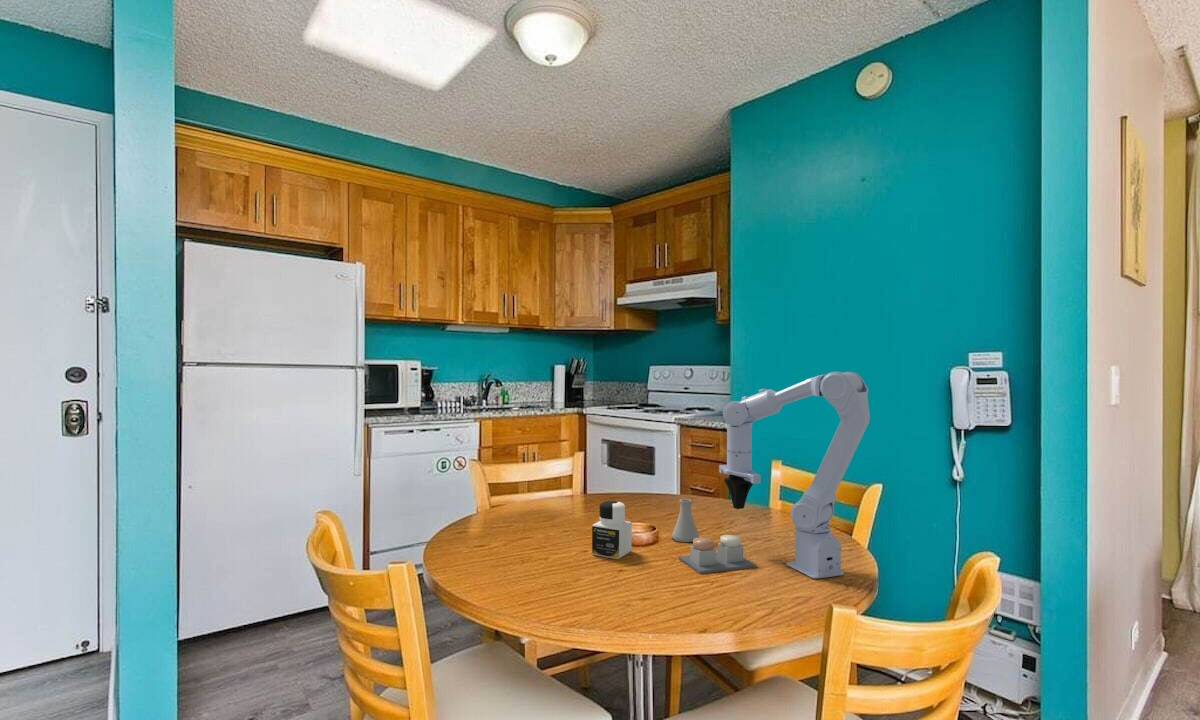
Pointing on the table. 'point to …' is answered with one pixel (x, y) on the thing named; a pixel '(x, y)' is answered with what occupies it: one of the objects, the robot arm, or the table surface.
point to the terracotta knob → (703, 543)
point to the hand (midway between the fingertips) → (738, 508)
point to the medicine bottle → (611, 531)
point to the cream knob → (730, 541)
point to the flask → (685, 523)
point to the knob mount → (716, 559)
